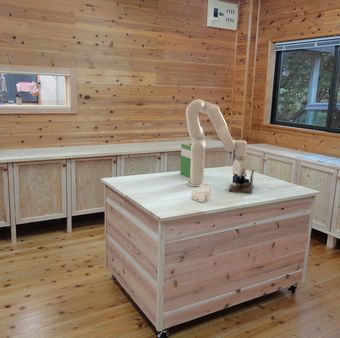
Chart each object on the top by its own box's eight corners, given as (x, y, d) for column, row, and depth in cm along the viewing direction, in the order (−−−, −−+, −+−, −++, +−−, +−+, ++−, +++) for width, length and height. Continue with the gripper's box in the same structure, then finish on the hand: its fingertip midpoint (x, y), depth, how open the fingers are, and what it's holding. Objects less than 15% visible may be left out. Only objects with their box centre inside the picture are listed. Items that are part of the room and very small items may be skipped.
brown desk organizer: (229, 191, 255) (230, 174, 253) (233, 183, 278) (234, 167, 275) (250, 193, 252) (252, 176, 249) (252, 185, 275) (253, 168, 272)
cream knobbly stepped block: (208, 204, 232) (214, 188, 233) (202, 202, 228) (208, 185, 229) (195, 199, 241) (201, 183, 242) (188, 197, 237) (194, 181, 238)
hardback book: (180, 173, 303) (181, 144, 298) (188, 172, 307) (189, 143, 301) (192, 178, 288) (193, 147, 283) (200, 177, 292) (201, 147, 287)
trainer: (235, 186, 263) (236, 177, 261) (231, 184, 267) (232, 176, 266) (249, 184, 268) (250, 176, 267) (245, 182, 272) (246, 174, 271)
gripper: (228, 156, 269) (227, 180, 272) (243, 160, 253) (241, 186, 257) (237, 155, 272) (235, 179, 276) (252, 160, 257) (250, 185, 261)
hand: (238, 182), depth 266 cm, fingers open, 6 cm apart
